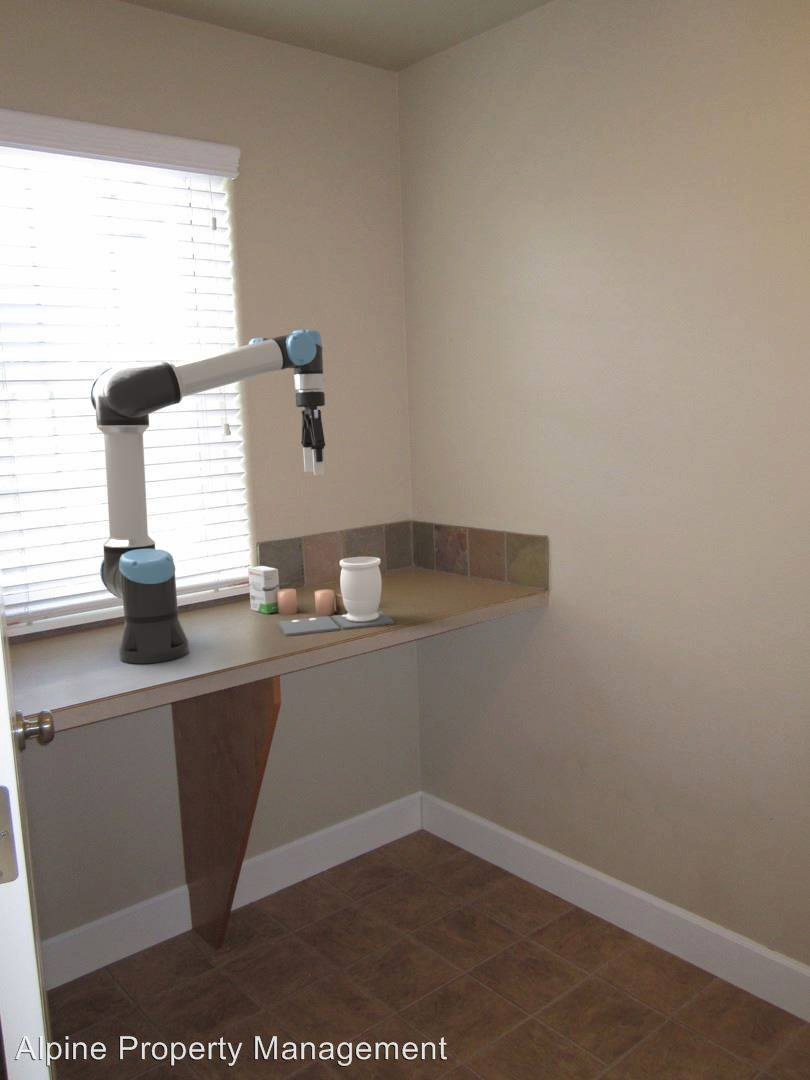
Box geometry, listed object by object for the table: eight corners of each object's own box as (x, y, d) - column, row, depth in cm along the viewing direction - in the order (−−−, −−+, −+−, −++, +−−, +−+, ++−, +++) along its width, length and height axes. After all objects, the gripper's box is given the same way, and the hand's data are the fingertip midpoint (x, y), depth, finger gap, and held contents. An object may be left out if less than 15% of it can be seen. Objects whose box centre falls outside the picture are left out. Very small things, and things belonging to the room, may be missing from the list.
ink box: (282, 611, 239) (279, 568, 237) (266, 614, 236) (263, 571, 234) (265, 606, 246) (262, 564, 244) (249, 609, 242) (247, 567, 241)
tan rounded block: (279, 615, 234) (278, 593, 233) (277, 611, 239) (275, 589, 238) (298, 613, 236) (297, 591, 235) (295, 609, 240) (294, 587, 239)
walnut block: (345, 616, 231) (344, 597, 230) (336, 613, 235) (335, 594, 234) (362, 613, 233) (361, 594, 232) (352, 610, 237) (351, 591, 237)
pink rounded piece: (317, 616, 231) (316, 594, 230) (314, 612, 236) (312, 590, 235) (336, 614, 232) (335, 592, 232) (332, 610, 237) (331, 588, 236)
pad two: (286, 636, 212) (286, 632, 212) (277, 624, 225) (277, 621, 224) (339, 630, 216) (339, 626, 216) (328, 618, 228) (328, 615, 228)
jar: (377, 624, 218) (375, 564, 215) (337, 623, 220) (334, 564, 217) (387, 613, 228) (384, 556, 226) (348, 612, 230) (345, 555, 228)
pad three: (343, 629, 216) (343, 626, 216) (332, 618, 229) (331, 615, 228) (394, 623, 220) (394, 620, 220) (380, 612, 232) (380, 609, 232)
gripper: (333, 389, 219) (338, 475, 222) (315, 392, 243) (319, 469, 246) (303, 390, 217) (308, 477, 220) (287, 393, 241) (292, 471, 244)
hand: (314, 473), depth 233 cm, fingers open, 13 cm apart
